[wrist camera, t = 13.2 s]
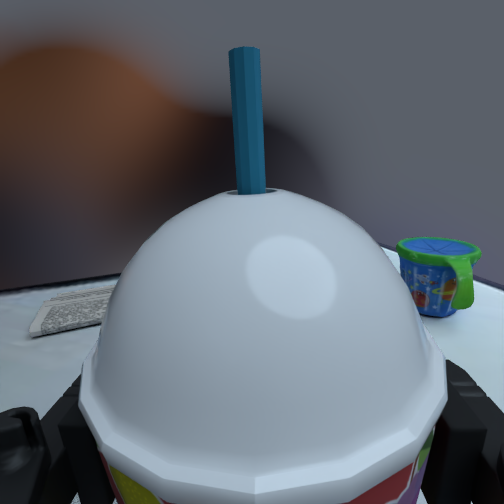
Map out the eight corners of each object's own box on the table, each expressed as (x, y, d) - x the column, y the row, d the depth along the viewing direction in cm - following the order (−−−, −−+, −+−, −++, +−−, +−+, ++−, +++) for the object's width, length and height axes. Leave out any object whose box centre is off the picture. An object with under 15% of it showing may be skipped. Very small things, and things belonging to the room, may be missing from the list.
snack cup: (380, 286, 57) (385, 232, 54) (442, 287, 55) (450, 231, 52) (409, 332, 42) (418, 262, 39) (495, 336, 40) (511, 262, 37)
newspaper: (31, 340, 44) (25, 318, 43) (50, 304, 55) (45, 286, 54) (257, 292, 56) (256, 274, 55) (235, 271, 67) (234, 255, 66)
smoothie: (269, 483, 18) (250, 102, 12) (428, 634, 12) (547, 32, 6) (127, 637, 12) (-42, 71, 6) (290, 1057, 6) (95, -1108, 1)
